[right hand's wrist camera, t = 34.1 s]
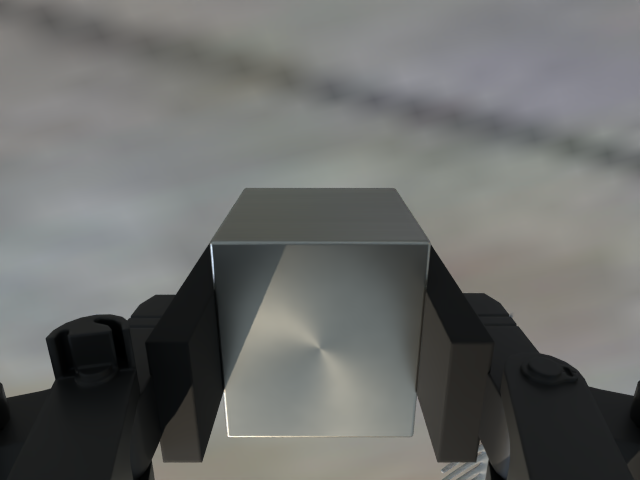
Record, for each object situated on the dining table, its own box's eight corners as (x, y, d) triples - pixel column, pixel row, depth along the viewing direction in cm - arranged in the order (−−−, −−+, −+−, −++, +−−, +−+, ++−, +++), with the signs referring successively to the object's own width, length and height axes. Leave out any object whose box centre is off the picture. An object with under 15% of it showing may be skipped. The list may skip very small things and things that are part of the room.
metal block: (387, 334, 16) (413, 438, 11) (252, 334, 16) (226, 438, 11) (395, 187, 14) (432, 241, 9) (244, 187, 14) (208, 240, 9)
